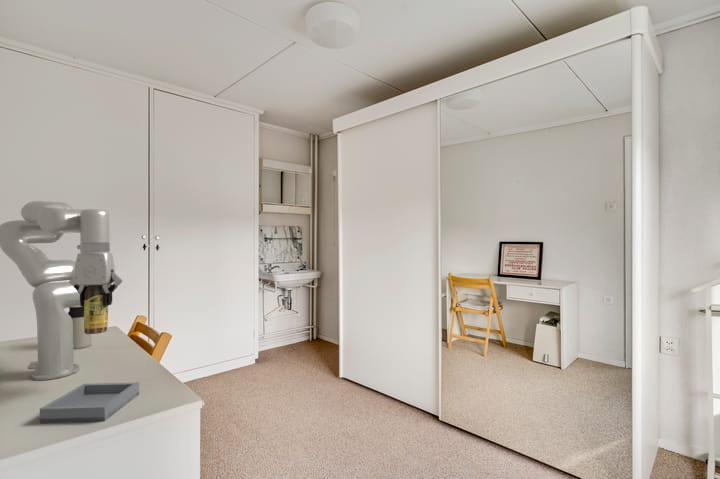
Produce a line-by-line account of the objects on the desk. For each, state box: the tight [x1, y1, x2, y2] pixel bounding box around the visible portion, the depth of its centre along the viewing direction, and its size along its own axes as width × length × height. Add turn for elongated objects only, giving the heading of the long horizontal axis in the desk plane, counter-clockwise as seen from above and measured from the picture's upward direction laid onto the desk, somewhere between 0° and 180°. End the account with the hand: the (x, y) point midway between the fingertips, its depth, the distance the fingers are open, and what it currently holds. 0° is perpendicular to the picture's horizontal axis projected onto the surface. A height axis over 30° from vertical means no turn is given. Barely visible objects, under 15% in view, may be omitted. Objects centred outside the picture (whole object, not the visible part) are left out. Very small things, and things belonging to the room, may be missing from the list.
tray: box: [39, 381, 140, 424], centre depth 103 cm, size 16×16×4 cm
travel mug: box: [67, 306, 93, 350], centre depth 160 cm, size 8×8×18 cm
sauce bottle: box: [84, 285, 109, 335], centre depth 119 cm, size 6×6×20 cm
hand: (96, 305), depth 119 cm, fingers closed on sauce bottle, 6 cm apart
